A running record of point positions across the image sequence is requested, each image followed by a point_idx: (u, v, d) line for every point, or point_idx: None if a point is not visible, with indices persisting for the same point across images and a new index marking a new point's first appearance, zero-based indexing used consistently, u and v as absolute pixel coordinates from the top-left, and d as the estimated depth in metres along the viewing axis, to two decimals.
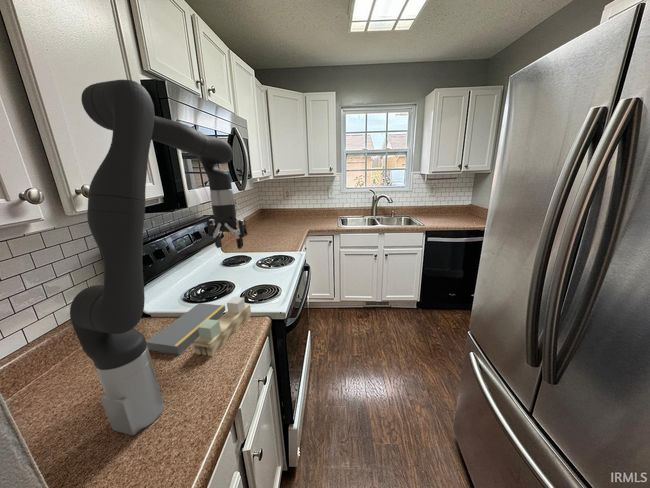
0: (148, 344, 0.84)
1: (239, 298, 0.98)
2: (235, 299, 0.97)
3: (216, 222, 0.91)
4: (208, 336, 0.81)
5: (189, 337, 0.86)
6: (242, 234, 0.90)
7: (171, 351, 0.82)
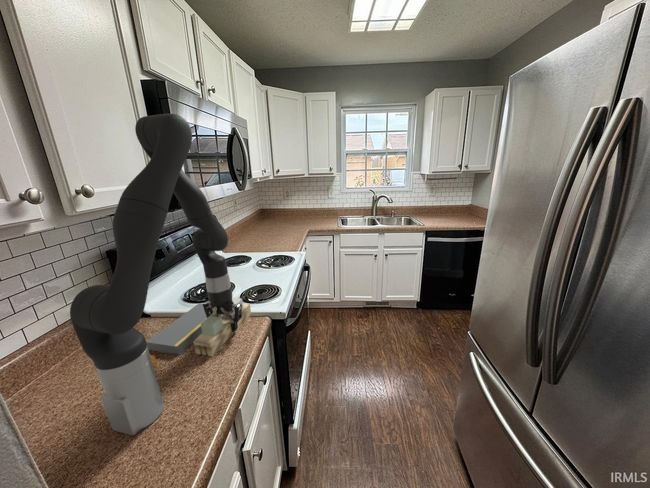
0: (148, 344, 0.84)
1: (237, 299, 0.97)
2: (233, 300, 0.96)
3: (212, 305, 0.89)
4: (210, 333, 0.82)
5: (189, 337, 0.86)
6: (236, 319, 0.88)
7: (171, 351, 0.82)
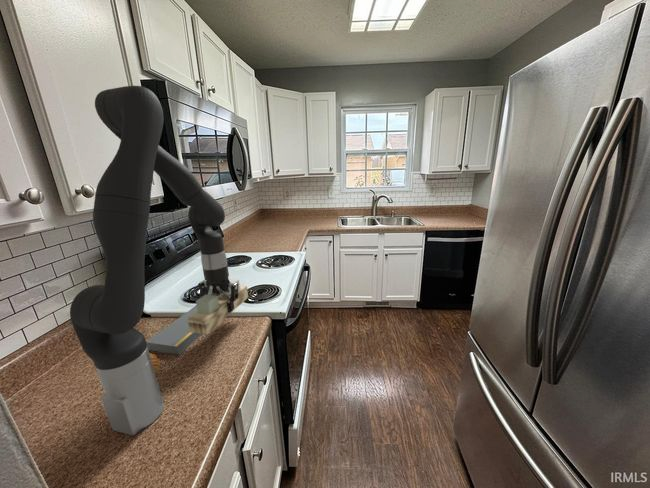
0: (148, 344, 0.84)
1: (234, 280, 0.94)
2: None
3: (208, 284, 0.86)
4: (206, 310, 0.80)
5: (189, 337, 0.86)
6: (232, 299, 0.85)
7: (171, 351, 0.82)
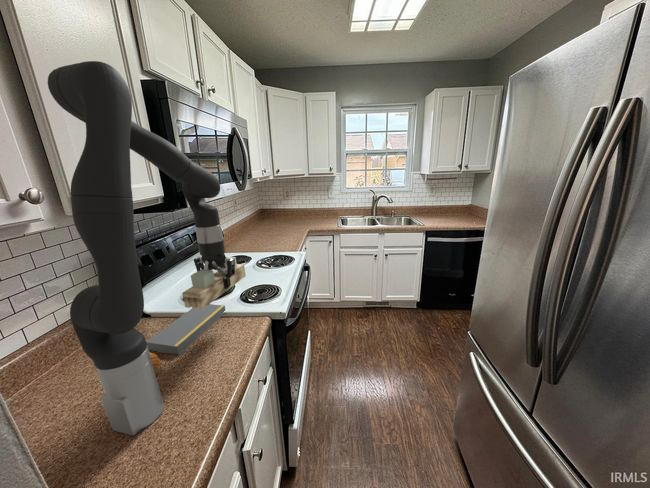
0: (148, 344, 0.84)
1: (230, 257, 0.92)
2: None
3: (203, 259, 0.84)
4: (201, 285, 0.78)
5: (189, 337, 0.86)
6: (229, 274, 0.83)
7: (171, 351, 0.82)
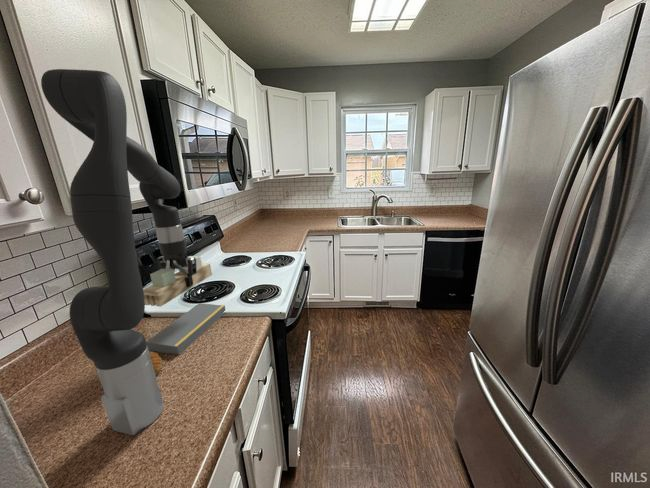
0: (148, 344, 0.84)
1: (195, 257, 0.94)
2: (190, 257, 0.94)
3: (165, 258, 0.86)
4: (160, 283, 0.80)
5: (189, 337, 0.86)
6: (190, 273, 0.85)
7: (171, 351, 0.82)
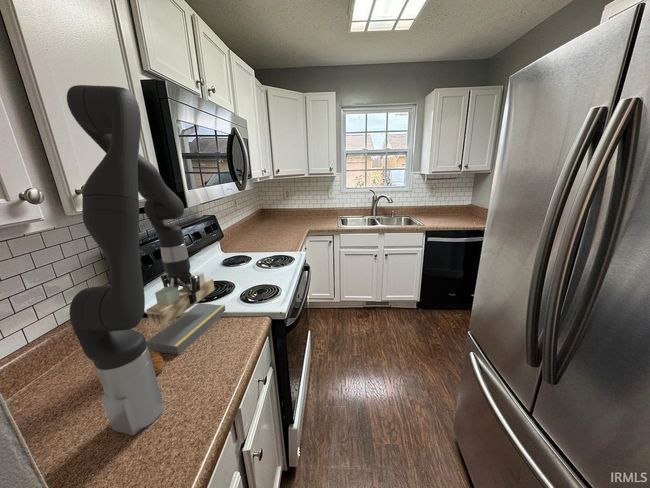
0: (148, 344, 0.84)
1: (198, 273, 0.96)
2: (194, 274, 0.95)
3: (169, 276, 0.88)
4: (165, 302, 0.82)
5: (189, 337, 0.86)
6: (193, 291, 0.87)
7: (171, 351, 0.82)
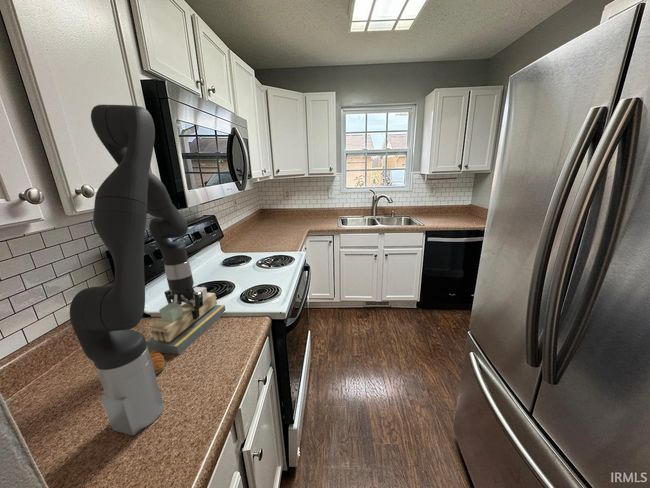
0: (148, 344, 0.84)
1: (201, 288, 0.98)
2: (197, 289, 0.97)
3: (173, 292, 0.90)
4: (169, 319, 0.84)
5: (189, 337, 0.86)
6: (197, 307, 0.89)
7: (171, 351, 0.82)
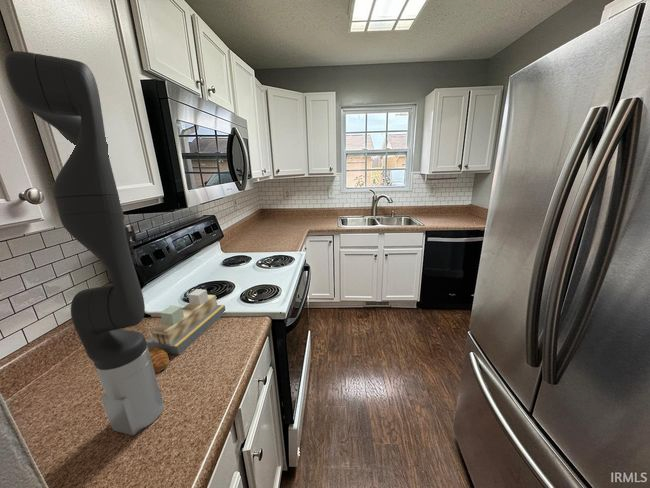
0: (148, 344, 0.84)
1: (201, 290, 0.98)
2: (197, 291, 0.97)
3: None
4: (169, 321, 0.84)
5: (189, 337, 0.86)
6: (128, 242, 0.77)
7: (171, 351, 0.82)
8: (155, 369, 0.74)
